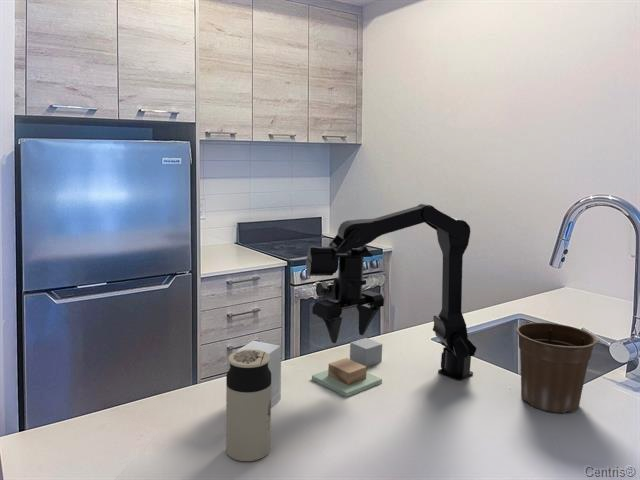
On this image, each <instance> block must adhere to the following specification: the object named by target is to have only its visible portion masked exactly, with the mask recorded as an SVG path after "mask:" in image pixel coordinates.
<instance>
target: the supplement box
mask: <svg viewBox="0 0 640 480" xmlns="http://www.w3.org/2000/svg"><path fill="white" fill-rule="evenodd" d="M241 350H260V351H263V352H266V353H268V354H269V356H270V361H269V362H268V368H269V370H270V372H271V408H272V407H274V406H275V405H277V403H278V402H279V401H280V400H282V399H281V398H282V397H281V396H282V390H281V389H282V385H281V384H282V345H279V344H272V343H268V342H263V341H257V340H252V341H250V342H249V343H247V344H246V345H244V346H242V347H240V348H239V349H237V350H235V352H237V351H241Z"/></svg>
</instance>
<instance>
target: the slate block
mask: <svg viewBox="0 0 640 480" xmlns="http://www.w3.org/2000/svg"><path fill="white" fill-rule="evenodd" d="M349 344H350V345H349V359H350V360H352V361H354V362H357V363H359V364H361V365H364V366H366V367H369V366H373V365H376V364H378V363H381V362H382V360H383V343H381V342H378V341H376V340H373V339H370V338H369V337H365V338H361V339H357V340H354V341H351V342H350V343H349Z"/></svg>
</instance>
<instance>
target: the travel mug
mask: <svg viewBox="0 0 640 480" xmlns="http://www.w3.org/2000/svg"><path fill="white" fill-rule="evenodd" d="M236 351H237V350H236ZM236 351H234V352H232V353H230V354H229V355H228V357H227V362H228V363H229V367H230V368H229V369H228V370H227V373H226V380H225V381H226V384H225V386H226V394H225V395H226V400H225V401H226V403H225V404H226V407H225V408H226V410H225V411H226V412H225V413H226V416H225V417H226V420H225V422H226V425H225V426H226V428H225V431H226V432H225V433H226V435H225V436H226V439H225V440H226V441H225V443H226V449H225V450H226V453H227V455H228V456H229V458H230V459H231V458H232V459H234V460H237V461H240V462H252V461H253V462H254V461H258V460H260V459H262V458H264V457H266V456H267V455H268V454H269V453H270V451H271V435H272V434H271V432H272V431H271V430H272V429H271V427H272V425H271V423H272V422H271V421H272V418H271V417H272V407H271V372H270V370H269V368H268V362H269V361H270V356H269V354H268V353H266V352H263V351H260V350H241V351H237V352H236Z"/></svg>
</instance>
